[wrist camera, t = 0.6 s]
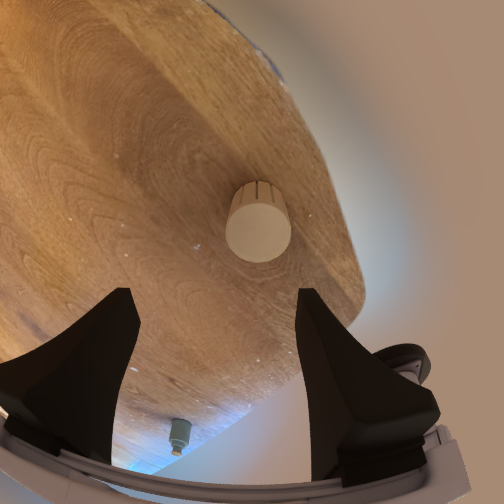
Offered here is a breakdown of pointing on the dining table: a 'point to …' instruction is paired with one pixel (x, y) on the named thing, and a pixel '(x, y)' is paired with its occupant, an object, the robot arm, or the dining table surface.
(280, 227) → the fluted tan knob
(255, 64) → the dining table surface
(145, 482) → the robot arm
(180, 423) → the bottle
